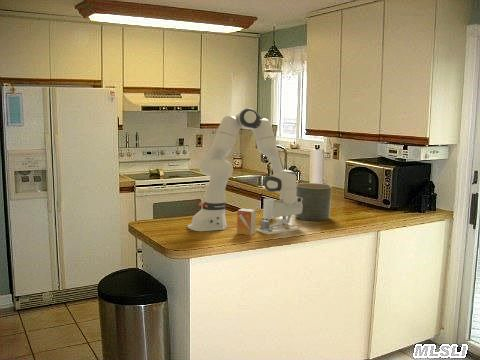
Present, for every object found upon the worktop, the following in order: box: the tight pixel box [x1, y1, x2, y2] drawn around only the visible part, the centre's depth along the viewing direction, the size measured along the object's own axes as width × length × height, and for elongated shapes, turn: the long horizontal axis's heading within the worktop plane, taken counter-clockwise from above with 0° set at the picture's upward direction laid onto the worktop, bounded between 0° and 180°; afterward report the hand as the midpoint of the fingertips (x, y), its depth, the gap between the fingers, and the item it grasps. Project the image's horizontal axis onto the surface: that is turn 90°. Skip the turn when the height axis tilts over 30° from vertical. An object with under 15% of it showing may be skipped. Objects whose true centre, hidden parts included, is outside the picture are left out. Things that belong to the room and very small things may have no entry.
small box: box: [236, 208, 256, 236], centre depth 270 cm, size 8×6×13 cm
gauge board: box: [256, 219, 300, 235], centre depth 279 cm, size 22×10×6 cm, turn 125°
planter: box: [294, 182, 333, 222], centre depth 315 cm, size 22×22×20 cm
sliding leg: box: [276, 217, 291, 227], centre depth 281 cm, size 3×9×4 cm, turn 35°
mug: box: [262, 198, 276, 221], centre depth 308 cm, size 10×7×12 cm, turn 71°
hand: (286, 222), depth 285 cm, fingers closed
